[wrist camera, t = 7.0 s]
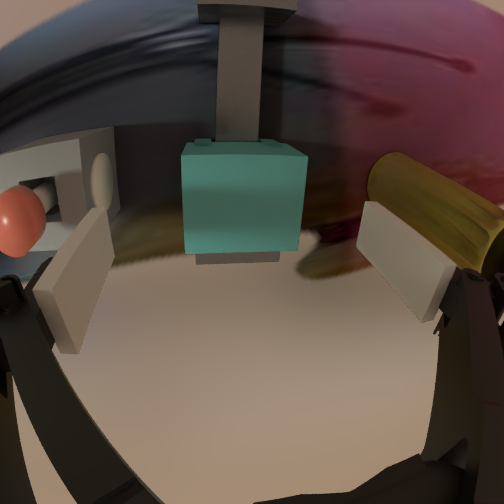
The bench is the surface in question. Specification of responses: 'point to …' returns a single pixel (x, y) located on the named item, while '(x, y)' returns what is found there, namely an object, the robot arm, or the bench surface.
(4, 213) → the red ball knob
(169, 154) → the bench surface
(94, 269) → the robot arm
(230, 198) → the block
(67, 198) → the grey cube housing
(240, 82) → the rail
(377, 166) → the vase
